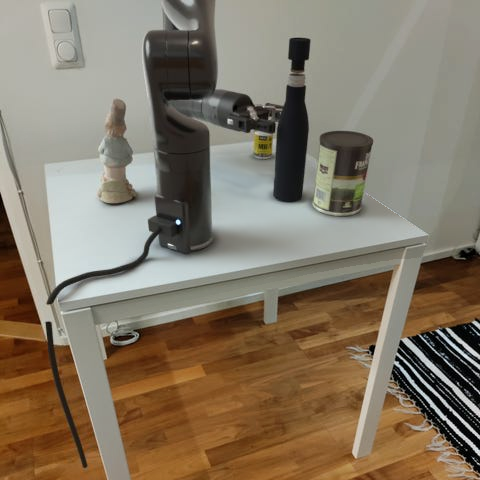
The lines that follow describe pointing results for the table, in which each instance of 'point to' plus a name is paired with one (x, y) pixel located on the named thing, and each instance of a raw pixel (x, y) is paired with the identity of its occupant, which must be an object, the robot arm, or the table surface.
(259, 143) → the supplement bottle
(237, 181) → the table surface
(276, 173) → the dark blue water bottle
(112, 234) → the table surface
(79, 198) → the table surface
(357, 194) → the coffee can
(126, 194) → the figurine
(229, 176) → the table surface
